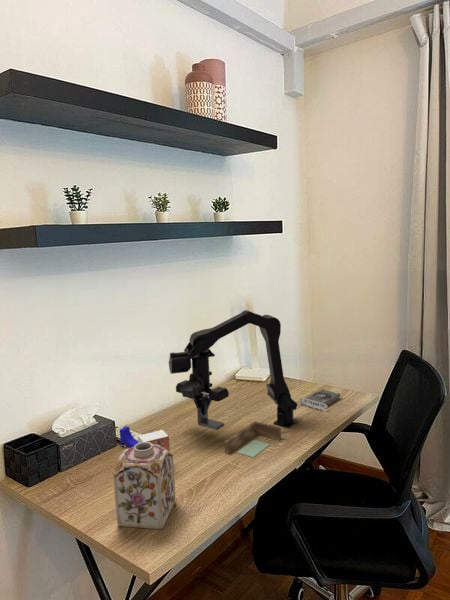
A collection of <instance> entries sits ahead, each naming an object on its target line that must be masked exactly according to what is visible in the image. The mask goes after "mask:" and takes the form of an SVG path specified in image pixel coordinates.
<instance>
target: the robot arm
mask: <svg viewBox="0 0 450 600" xmlns="http://www.w3.org/2000/svg"><path fill="white" fill-rule="evenodd" d="M248 324H251V325H254V326H256V327H259V330H260V333H261V335H262V336H261V337H262V338H263V339H264V342H265V347H266V348H265V349H266V354H267V363H268V367H269V374H270V381H269V383H266V385H265V387H266V389H267V393H266V394H267V396H268V397H269V398H270V399H271V401H274V402H273V403H274V404H276V405H277V406H276V420H275V421H274V422H273V424H274V425H277V426H281V427H285V428H291V427H292V426H294V425H295V424H296V423H297V422H298V419H295V418H294V411H295V410H297V407H298V403H297V402H296V401H295V400H294V399H293V398H292V396H291V392H290V390H289V387H288V384H287V382H286V381H285V379H284V370H283V364H282V356H281V355H282V354H281V349H280V343H279V340H280V337H281V332H282V331H281V328H282V327H281V325H282V324H281V321H280V320H279V319H278V318H277V317H274V316H272V315H270V314H263V315H260V314H259V313H254V312H253V311H250V310H249V309H245V310H243V311H241V312H239V313H238V314H236V315H235V316H232V317H230V318H228V319H226V320H225V321H223V322H220V323H219V324H217V325H215V326H213V327H210V328H205V329H201V330H198V331H194V332H193V333H191V335H190V337H189V340H188V341H189V342H188V343H187V344H186V347H185V348H184V349H183V351H182V352H180V351H179V352H169V359H168V369H169V373H170V374H171V375H174V374H181V373H188V372H189V371H192V372H191V373H190V374H189V378H188V380H187V379H185V380H183V381H180V382H178V383H177V384H176V386H175V392H176V393H179V394H181V395H182V397H183V398H188V399H191V400H192V401H193V403H194V404H195V406H196V409H197V408H198V407H200V406H202V411H203V415H206V413H207V411H209V408H210V406H211V404H212V402H213V401H214V402H220V401H223V400H225V399H227V398H228V397H229V396H230V395H229V394H230V393H229V392H230V391H229V390H228V389H227V388H226V387H222V386H221V387H220V386H217V387H215V388H212V387H213V383H212V382H211V379H210V378H211V377H210V376H212V375H213V373H212V371H210V357H212V358H213V357H215V356H216V354H215V353H214V352H213V351H212V350H211V349H210V348H212V347H213V346H214V345H215V344H216V343H217V342H218V341H219V340H221V339H222V338H224V337H225V336H228V335H230V334H232V333H234V332H236V331H237V330H239V329H241V328H243V327H245V326H247V325H248Z"/></svg>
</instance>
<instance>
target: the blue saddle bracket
mask: <svg viewBox="0 0 450 600" xmlns="http://www.w3.org/2000/svg"><path fill="white" fill-rule="evenodd" d="M152 432H153V431H150V432H149V433H152ZM119 439H120V446H121V445H124V443H125V445H126V447H129V448H131V447H134V446H135V445H136V444H138V439H136V438H135V437H134V436H133V435H132V433H131V429H130V427H129V426H125V425H124V427H122V428H120V429H119Z"/></svg>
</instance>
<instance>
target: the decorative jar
mask: <svg viewBox="0 0 450 600" xmlns="http://www.w3.org/2000/svg"><path fill="white" fill-rule="evenodd" d="M174 469H175V468H174V454H173V453H172V452H169V451H168V450H167V449H165V448H164V447H162V446H160V445H156V444H152V443H150V442H141V443H138V444H136V445H135V446H134V447H131V448H125V449H124V450H123V452H121V454H120V455H119V457H118V459H117V462H116V465H115V468H114V472H113V475H112V476H113V486H114V487H113V488H114V499H115V500H114V501H115V504H114V505H115V513H116V523H117V524H116V525H117V527H127V528H138V529H139V528H141V529H152V530H153V529H154V530H155V529H156V530H163V528H164V527H165V525H166V522H167V520H168V518H169V516H170V513H171V511H172V509H173V507H174V506H175V503H176V487H175V486H176V485H175V483H176V482H175V470H174Z"/></svg>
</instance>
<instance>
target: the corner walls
mask: <svg viewBox="0 0 450 600" xmlns="http://www.w3.org/2000/svg"><path fill="white" fill-rule="evenodd" d="M281 429H282V428H281V427H279V426H275V425H271V424H267V423H262V422H258V421H254V422H252V423H250V424H249V425H247V426H245V427H243V428H242V429H241V430H239V431H238V432H236V433H235V434H233V435H232V436H230V437H229V438H227V439H225V440H224V454H226V455H229V454H230V453H232V452H233V451H235V450H237V448H239V447H241V446H242V445H244V444H245V443H246V442H248V441H250V440H251V439H252V438H254V437H255V436H256V435H257V436H261V437H264V438H267V439H268V438H269V439H273V440H276V441H281V440H282V431H281Z"/></svg>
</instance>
